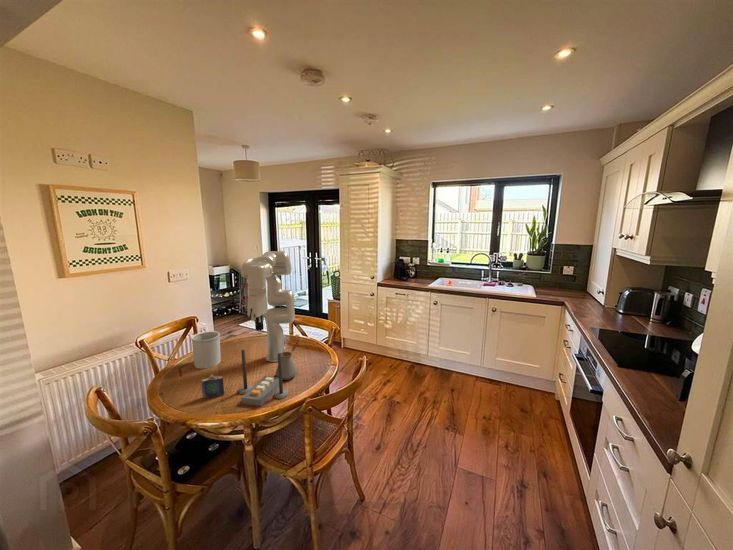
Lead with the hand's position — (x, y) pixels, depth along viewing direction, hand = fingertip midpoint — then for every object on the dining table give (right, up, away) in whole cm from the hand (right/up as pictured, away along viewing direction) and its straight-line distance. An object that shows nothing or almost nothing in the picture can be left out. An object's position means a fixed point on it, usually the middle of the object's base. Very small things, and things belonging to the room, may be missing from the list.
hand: (259, 329), depth 136 cm
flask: (-23, -33, +3) cm, 40 cm away
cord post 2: (+9, -32, +4) cm, 34 cm away
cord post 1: (-9, -32, +7) cm, 34 cm away
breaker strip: (0, -32, +5) cm, 32 cm away
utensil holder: (-44, -27, +36) cm, 63 cm away
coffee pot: (+8, -29, +26) cm, 40 cm away
